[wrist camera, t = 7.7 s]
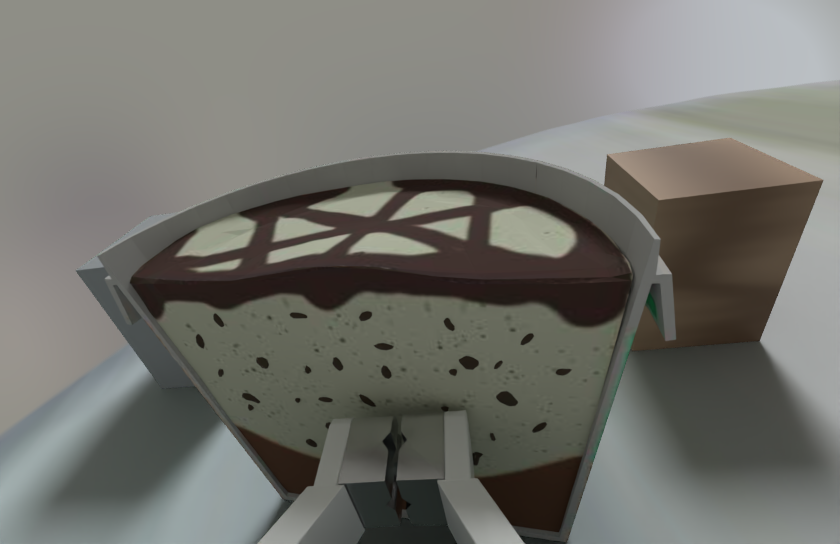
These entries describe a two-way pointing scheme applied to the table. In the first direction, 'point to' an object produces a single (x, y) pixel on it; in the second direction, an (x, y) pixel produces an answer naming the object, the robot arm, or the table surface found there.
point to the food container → (408, 312)
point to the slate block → (139, 332)
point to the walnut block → (716, 233)
